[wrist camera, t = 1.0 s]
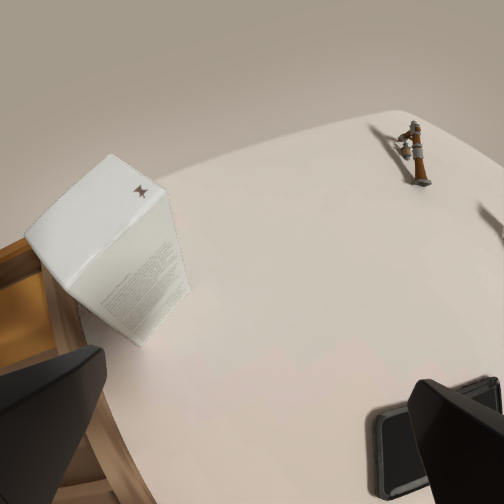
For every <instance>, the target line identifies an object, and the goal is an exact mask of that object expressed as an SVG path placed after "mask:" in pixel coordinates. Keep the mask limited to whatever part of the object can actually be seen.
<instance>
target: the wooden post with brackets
mask: <svg viewBox="0 0 504 504" xmlns="http://www.w3.org/2000/svg"><path fill="white" fill-rule="evenodd" d="M420 131H421V129H420V125H418V124H417V123H416V121H412V122H411V125H410V130H409V131H408V132H406V133H405V134H402V135H400V136H399V137H398V141H399V142H403V141H405V142H406V140H408V138H409V139H410V140H412V141H413V145H412V148H413V150H412V152H413V159H414V160H415V181H414V182H412V185H414V184H416V185H422V186H423V187H426V186H428V185H430V184H432V183H431V181H430V180H428V179H427V176H426V172H425V169H424V165H423V158H424V157H423V149H421V147H422V144H421V143H420V135H421V133H420ZM411 136H412V138H411ZM405 142H404V144H402V145H404V147H402V148H401V150H402V152H403V156H404V157H405V159H406V160H407V161H408V160H409V159H410V156H412V155H411V152H410V148H411V147H408V143H405Z"/></svg>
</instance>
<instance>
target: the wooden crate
mask: <svg viewBox="0 0 504 504" xmlns="http://www.w3.org/2000/svg"><path fill="white" fill-rule="evenodd" d="M85 346H87V343H86V340H85V336H84V333H83V329H82V326H81V322H80V318H79V314H78V310H77V306H76V302H75V298H73V297H72V296H71V295H70V294H68V293H67V292H66V291H65V290H64V289H63V288H62V287H61V286H60V284H59V283H58V282H57V281H56V280H55V278H54V277H53V276H52V275H51V273H50V272H49V271H48V269H47V268H46V267H45V265H44V264H43V263H42V261H41V260H40V259H39V257H38V256H37V255H36V253H35V252H34V250H33V249H32V247H31V246H30V245H29V243H28V242H27V240H26V239H25V238H23V239H20V240H18V241H16V242H14V243H12V244H11V245H9V246H7V247H5V248H3V249H1V250H0V376H1V375H4V374H7V373H10V372H13V371H16V370H19V369H22V368H25V367H28V366H31V365H34V364H37V363H40V362H43V361H46V360H49V359H51V358H54V357H57V356H60V355H63V354H66V353H68V352H71V351H74V350H77V349H80V348H83V347H85ZM52 504H157V503H156V501H155V499H154V498H153V496H152V494H151V493H150V491H149V489H148V487H147V486H146V484H145V482H144V480H143V478H142V477H141V475H140V473H139V471H138V469H137V467H136V465H135V463H134V461H133V459H132V457H131V455H130V453H129V451H128V449H127V447H126V445H125V443H124V441H123V439H122V436H121V434H120V432H119V430H118V428H117V425H116V423H115V421H114V418H113V416H112V414H111V411H110V409H109V406H108V404H107V401H106V399H105V396H104V393H103V391H102V392H101V395H100V397H99V400H98V403H97V405H96V408H95V411H94V414H93V416H92V419H91V421H90V424H89V426H88V428H87V430H86V432H85V434H84V436H83V438H82V440H81V442H80V444H79V446H78V448H77V450H76V452H75V454H74V456H73V458H72V460H71V462H70V464H69V466H68V469H67V471H66V473H65V475H64V477H63V479H62V481H61V484H60V486H59V488H58V490H57V492H56V495H55V497H54V499H53V501H52Z"/></svg>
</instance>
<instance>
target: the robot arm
mask: <svg viewBox="0 0 504 504" xmlns="http://www.w3.org/2000/svg"><path fill="white" fill-rule="evenodd" d="M106 378H107V368H106V359H105V352H104V350H103V348H101V347H97V346H93V345H88V346H85V347H83V348H80V349H77V350H74V351H71V352H68V353H66V354H63V355H60V356H57V357H54V358H51V359H49V360H46V361H43V362H40V363H37V364H34V365H31V366H28V367H25V368H22V369H19V370H16V371H13V372H10V373H7V374H4V375H1V376H0V504H52V501H53V499H54V497H55V495H56V492H57V490H58V488H59V486H60V484H61V481H62V479H63V477H64V475H65V473H66V471H67V469H68V466H69V464H70V462H71V460H72V458H73V456H74V454H75V452H76V450H77V448H78V446H79V444H80V442H81V440H82V438H83V436H84V434H85V432H86V430H87V428H88V426H89V424H90V421H91V419H92V416H93V414H94V411H95V408H96V405H97V403H98V400H99V397H100V395H101V392H102V389H103V387H104V384H105V382H106ZM407 408H408V412H409V416H410V420H411V424H412V428H413V432H414V436H415V441H416V444H417V448H418V451H419V454H420V457H421V460H422V463H423V466H424V469H425V472H426V475H427V478H428V481H429V484H430V487H431V491H432V494H433V497H434V500H435V504H504V415H502V414H500V413H498V412H496V411H494V410H492V409H490V408H488V407H486V406H484V405H482V404H480V403H478V402H476V401H474V400H472V399H469V398H467V397H465V396H463V395H461V394H459V393H457V392H455V391H453V390H451V389H449V388H447V387H445V386H444V385H442V384H440V383H438V382H436V381H434V380H432V379H421V380H419V381H418V382H417V383H416V385H415V387H414V389H413V391H412V393H411V395H410V398H409V400H408V403H407Z"/></svg>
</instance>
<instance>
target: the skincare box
mask: <svg viewBox="0 0 504 504" xmlns="http://www.w3.org/2000/svg"><path fill="white" fill-rule="evenodd" d="M24 237H25V239H26V240H27V242H28V243H29V245H30V246H31V247H32V249H33V250H34V252H35V253H36V255H37V256H38V257H39V259H40V260H41V261H42V263H43V264H44V265H45V267H46V268H47V269H48V271H49V272H50V273H51V275H52V276H53V277H54V278H55V280H56V281H57V282H58V283H59V284H60V286H61V287H62V288H63V289H64V290H65V291H66V292H67V293H68V294H70V295H71V296H72V297H73V298H75V299H76V300H77V301H79V302H80V303H81V304H82V305H84V306H85V307H86V308H87V309H89V310H90V311H91V312H93V313H94V314H95V315H97V316H98V317H99V318H100V319H102V320H103V321H104V322H106V323H107V324H108V325H109V326H111V327H112V328H113V329H115V330H116V331H117V332H119V333H120V334H121V335H123V336H124V337H125V338H127V339H128V340H130V341H131V342H132V343H134V344H135V345H137V346H138V347H142V346H143V345H144V343H145V342H146V341H147V340H148V339H149V337H150V336H151V335H152V334H153V333H154V332H155V331H156V329H157V328H158V327H159V326H160V325H161V324H162V322H163V321H164V320H165V319H166V318H167V317H168V316H169V314H170V313H171V312H172V311H173V310H174V309H175V308H176V306H177V305H178V304H179V303H180V302H181V301H182V299H183V298H184V297H185V296H186V295H187V294H188V293H189V292H190V290H191V288H190V284H189V280H188V276H187V272H186V269H185V264H184V260H183V256H182V252H181V248H180V244H179V240H178V236H177V231H176V227H175V223H174V219H173V214H172V210H171V205H170V200H169V195H168V191H167V189H165V188H164V187H162V186H161V185H159V184H157V183H156V182H154V181H153V180H151V179H150V178H148V177H146V176H145V175H143V174H142V173H140V172H139V171H137V170H136V169H134V168H133V167H131V166H129V165H128V164H127V163H125V162H124V161H122V160H121V159H119V158H118V157H116V156H114V155H113V154H109V155H108V156H106V157H105V158H104V159H103V160H102V161H101V162H99V163H98V164H97V165H96V166H95V167H94V168H92V169H91V170H90V171H89V172H88V173H87V174H86V175H84V176H83V177H82V178H81V179H80V180H79V181H77V182H76V183H75V184H74V185H73V186H72V187H71V188H70V189H69V190H68V191H67V192H65V193H64V194H63V195H62V196H61V197H60V198H59V199H58V200H57V201H56V202H55V203H54V204H53V205H52V206H51V207H50V208H49V209H48V210H47V211H46V212H45V213H44V214H43V215H42V216H41V217H40V218H39V219H38V220H37V221H36V222H35V223H34V224H33V225H32V226H31V227H30V228H29V229H28V230H27V231H26V232H25V233H24Z"/></svg>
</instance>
